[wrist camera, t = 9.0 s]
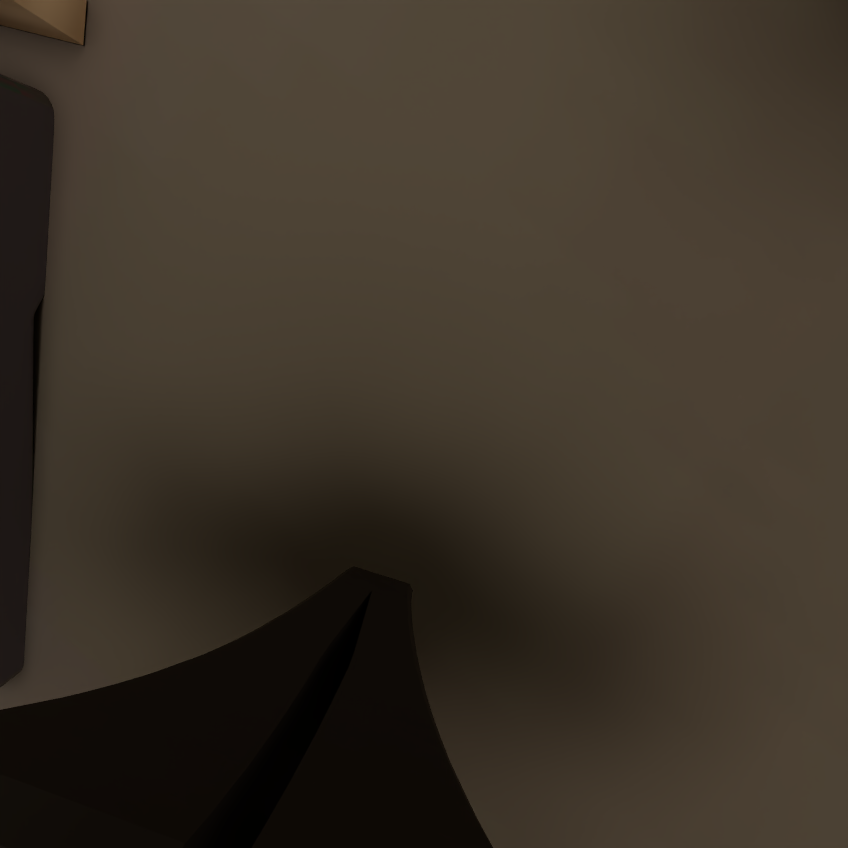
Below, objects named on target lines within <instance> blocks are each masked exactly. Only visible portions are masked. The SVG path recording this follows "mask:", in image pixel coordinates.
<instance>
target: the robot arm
mask: <svg viewBox="0 0 848 848" xmlns="http://www.w3.org/2000/svg"><path fill="white" fill-rule="evenodd" d="M412 591H413V590H412V588H411V587H410V585H409V584H407V583H404V582H401V581H398V580H395V579H392V578H389V577H385V576H382V575H379V574H376V573H373V572H370V571H366V570H363V569H360V568H357V567H352V568H350V569H348V570H346V571H345V572H344V573H342V574H341V575H340V576H339V577H337V578H336V579H335V580H333V581H332V582H331V583H329V584H328V585H326V586H325V587H324V588H322V589H321V590H319V591H318V592H317V593H315V594H314V595H312V596H311V597H309V598H308V599H306V600H305V601H303V602H302V603H300V604H298V605H297V606H295V607H294V608H292V609H291V610H289V611H288V612H286V613H284V614H283V615H281V616H279V617H277V618H276V619H274V620H272V621H270V622H269V623H267V624H265V625H263V626H262V627H260V628H258V629H256V630H254V631H252V632H251V633H249V634H247V635H245V636H243V637H241V638H239V639H237V640H235V641H233V642H231V643H228V644H226V645H224V646H222V647H220V648H217V649H215V650H213V651H211V652H208V653H206V654H204V655H201V656H198V657H195V658H193V659H190V660H187V661H184V662H182V663H179V664H176V665H173V666H171V667H168V668H165V669H162V670H160V671H157V672H154V673H151V674H148V675H145V676H141V677H138V678H135V679H131V680H128V681H125V682H121V683H118V684H114V685H110V686H107V687H103V688H99V689H95V690H91V691H88V692H84V693H80V694H75V695H71V696H67V697H63V698H58V699H53V700H48V701H43V702H38V703H33V704H28V705H23V706H18V707H13V708H8V709H3V710H0V848H493V847H492V845H491V843H490V841H489V839H488V838H487V836H486V834H485V832H484V830H483V828H482V827H481V825H480V823H479V821H478V819H477V818H476V816H475V813H474V811H473V809H472V807H471V805H470V803H469V801H468V799H467V797H466V795H465V792H464V790H463V788H462V786H461V784H460V782H459V780H458V778H457V776H456V773H455V771H454V769H453V767H452V765H451V763H450V760H449V758H448V755H447V753H446V750H445V748H444V745H443V743H442V740H441V738H440V735H439V732H438V729H437V726H436V724H435V721H434V718H433V715H432V712H431V709H430V706H429V702H428V699H427V695H426V692H425V688H424V684H423V680H422V676H421V672H420V668H419V663H418V658H417V653H416V647H415V641H414V635H413V627H412V616H411V597H412Z"/></svg>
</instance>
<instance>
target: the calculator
mask: <svg viewBox="0 0 848 848" xmlns="http://www.w3.org/2000/svg"><path fill="white" fill-rule="evenodd" d="M53 136H54V111H53V107H52V104H51V102H50V101H49V99H48V98H47V96H46V95H45V94H43V93H42V92H41V91H39V90H37V89H35V88H32V87H30V86H27V85H25V84H22V83H20V82H18V81H15V80H13V79H10V78H8V77H5V76H3V75H1V74H0V687H1V686H3V685H4V684H5V683H6V682H8V681H9V680H10V679H11V678H13V677H14V676H15V675H16V674H17V673H19V672H20V671H21V670H22V668H23V663H24V648H25V630H26V613H27V595H28V577H29V558H30V539H31V520H32V488H33V332H34V314H35V312H36V310H37V308H38V306H39V304H40V302H41V300H42V298H43V296H44V291H45V278H46V261H47V243H48V225H49V208H50V190H51V172H52V154H53Z"/></svg>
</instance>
